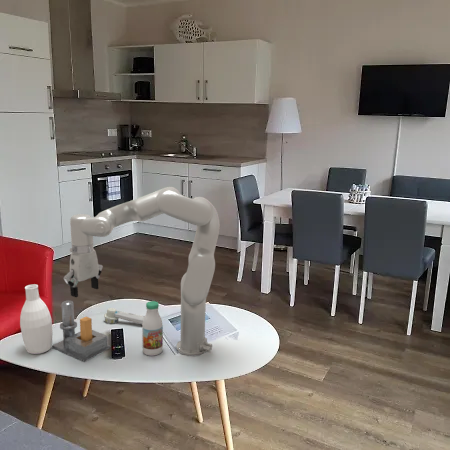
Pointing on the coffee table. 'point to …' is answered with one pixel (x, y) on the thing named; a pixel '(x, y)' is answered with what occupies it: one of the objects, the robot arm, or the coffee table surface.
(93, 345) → the square socket base
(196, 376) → the coffee table surface
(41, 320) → the bottle
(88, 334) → the orange rectangular block
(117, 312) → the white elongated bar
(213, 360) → the coffee table surface
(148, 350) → the milk bottle
